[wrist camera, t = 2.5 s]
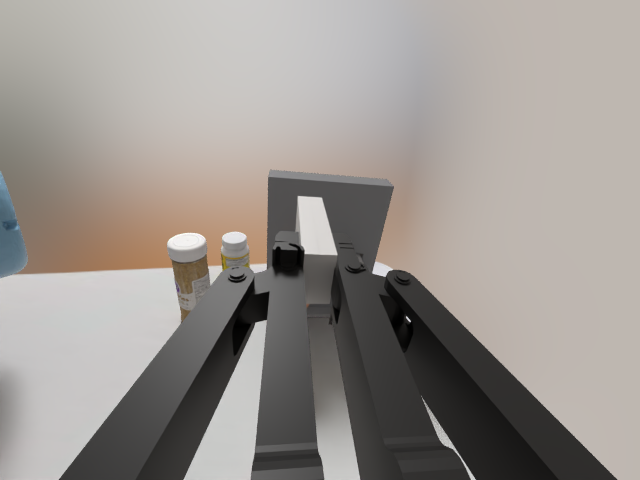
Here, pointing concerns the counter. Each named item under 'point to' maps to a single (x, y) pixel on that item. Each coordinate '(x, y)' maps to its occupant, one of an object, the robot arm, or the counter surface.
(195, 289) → the spice jar
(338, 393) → the counter surface
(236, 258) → the supplement bottle
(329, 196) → the button panel
